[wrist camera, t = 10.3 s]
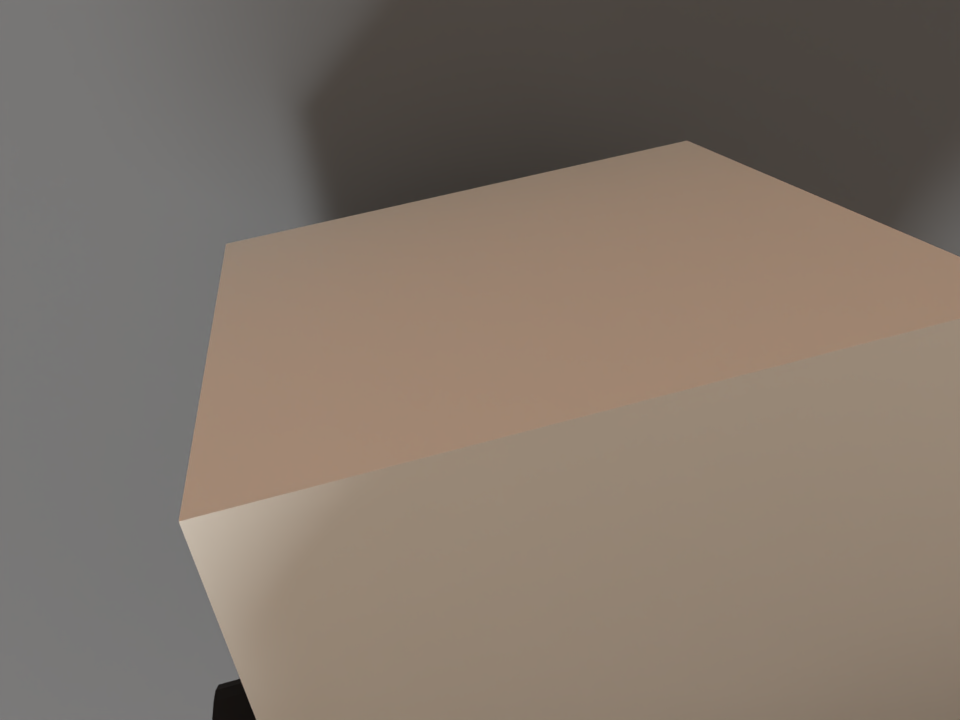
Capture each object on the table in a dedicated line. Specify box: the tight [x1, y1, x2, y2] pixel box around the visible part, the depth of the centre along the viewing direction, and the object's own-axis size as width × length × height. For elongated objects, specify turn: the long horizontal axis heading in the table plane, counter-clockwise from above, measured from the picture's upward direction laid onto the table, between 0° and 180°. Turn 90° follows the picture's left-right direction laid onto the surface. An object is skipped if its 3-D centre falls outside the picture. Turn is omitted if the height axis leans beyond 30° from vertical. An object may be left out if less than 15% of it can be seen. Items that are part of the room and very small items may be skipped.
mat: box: [0, 0, 960, 720], centre depth 13 cm, size 20×16×1 cm
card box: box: [179, 141, 960, 720], centre depth 9 cm, size 10×5×5 cm, turn 9°
